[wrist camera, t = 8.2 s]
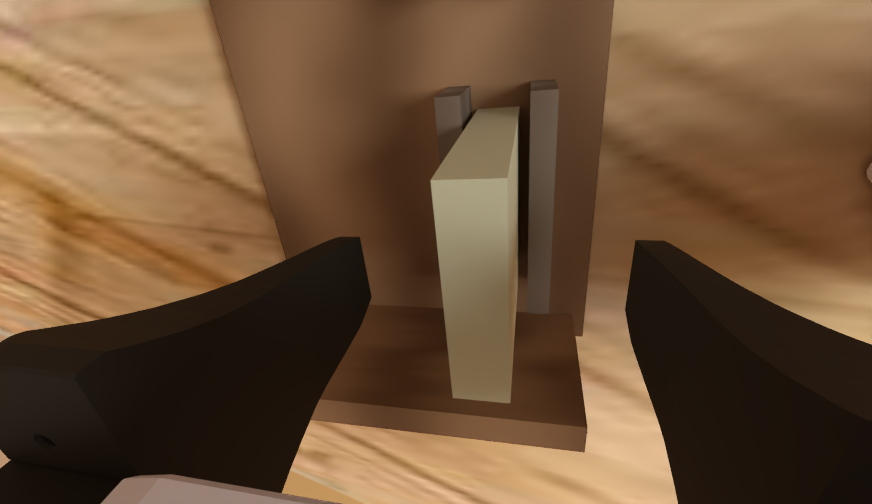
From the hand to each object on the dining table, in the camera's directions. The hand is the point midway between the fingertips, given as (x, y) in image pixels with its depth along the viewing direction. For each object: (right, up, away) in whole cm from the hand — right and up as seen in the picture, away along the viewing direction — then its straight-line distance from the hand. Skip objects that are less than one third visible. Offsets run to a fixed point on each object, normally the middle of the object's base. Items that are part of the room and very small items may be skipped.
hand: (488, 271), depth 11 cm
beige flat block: (+1, +3, +5) cm, 6 cm away
